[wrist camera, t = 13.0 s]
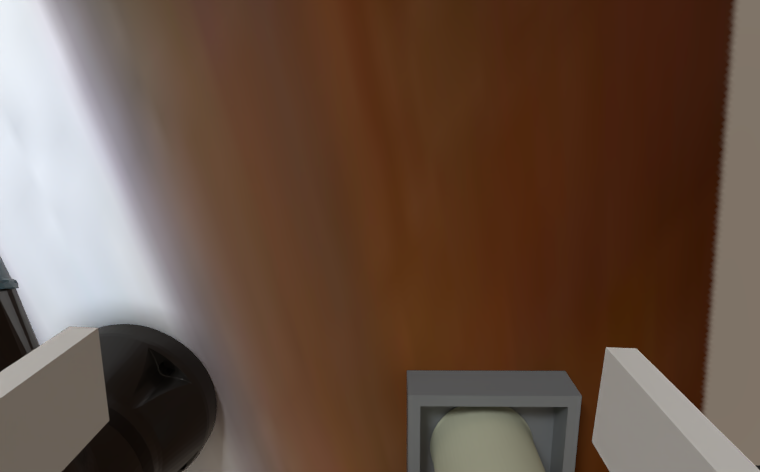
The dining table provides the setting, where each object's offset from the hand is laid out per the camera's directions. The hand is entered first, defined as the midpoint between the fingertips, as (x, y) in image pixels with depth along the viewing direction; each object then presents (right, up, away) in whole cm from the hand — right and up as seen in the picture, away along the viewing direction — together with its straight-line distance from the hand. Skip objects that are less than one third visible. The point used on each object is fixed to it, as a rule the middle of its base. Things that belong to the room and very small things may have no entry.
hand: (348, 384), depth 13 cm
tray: (+10, -15, +33) cm, 38 cm away
